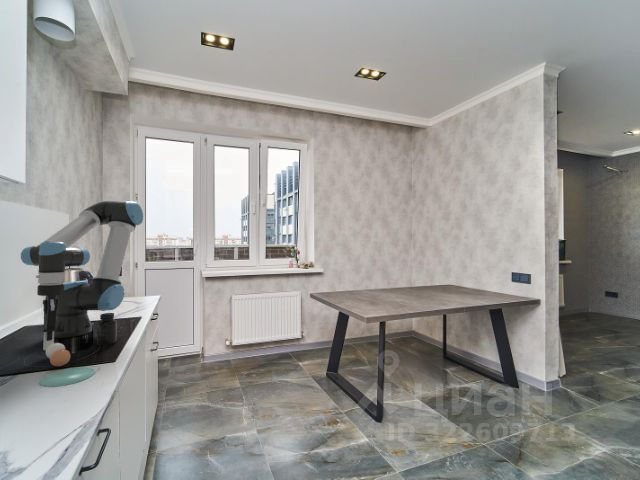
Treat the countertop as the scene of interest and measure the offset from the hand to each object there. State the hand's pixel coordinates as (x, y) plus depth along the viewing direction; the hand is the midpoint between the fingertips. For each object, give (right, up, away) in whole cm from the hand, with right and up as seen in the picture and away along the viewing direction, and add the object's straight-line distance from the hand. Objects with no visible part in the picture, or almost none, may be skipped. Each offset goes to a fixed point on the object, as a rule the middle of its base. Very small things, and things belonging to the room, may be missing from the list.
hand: (48, 348), depth 119 cm
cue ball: (+4, 0, -1) cm, 4 cm away
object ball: (+11, 0, -8) cm, 13 cm away
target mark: (+19, -3, -16) cm, 25 cm away
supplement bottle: (+11, -3, +16) cm, 20 cm away
